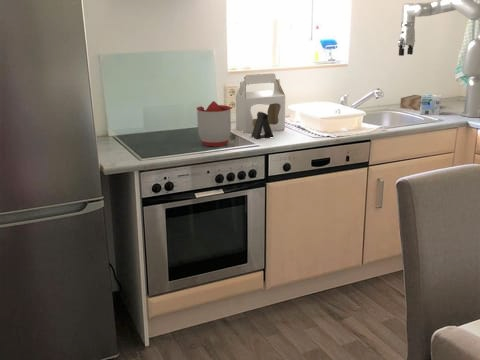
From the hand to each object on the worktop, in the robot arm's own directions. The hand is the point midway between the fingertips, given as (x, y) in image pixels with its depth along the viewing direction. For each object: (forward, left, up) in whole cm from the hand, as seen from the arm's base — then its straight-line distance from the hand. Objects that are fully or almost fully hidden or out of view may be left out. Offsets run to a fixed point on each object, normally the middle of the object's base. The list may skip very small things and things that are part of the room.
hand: (405, 55), depth 333 cm
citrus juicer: (+13, +143, -31) cm, 147 cm away
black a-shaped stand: (+6, +118, -31) cm, 122 cm away
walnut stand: (-10, -2, -31) cm, 33 cm away
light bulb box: (-24, +11, -31) cm, 41 cm away
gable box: (+19, +106, -31) cm, 112 cm away
